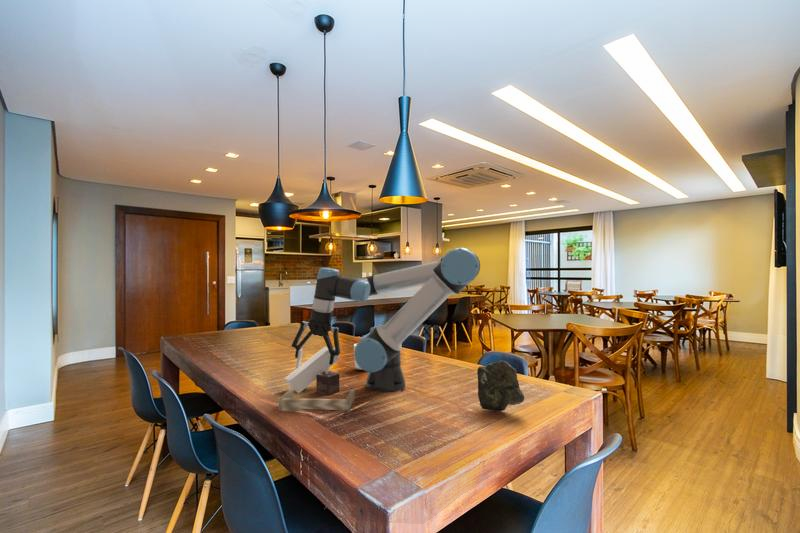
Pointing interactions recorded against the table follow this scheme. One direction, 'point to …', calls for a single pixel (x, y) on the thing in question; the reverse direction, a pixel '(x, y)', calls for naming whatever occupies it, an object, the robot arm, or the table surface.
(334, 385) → the box
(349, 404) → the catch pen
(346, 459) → the table surface
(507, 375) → the stone
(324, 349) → the milk
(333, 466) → the table surface
